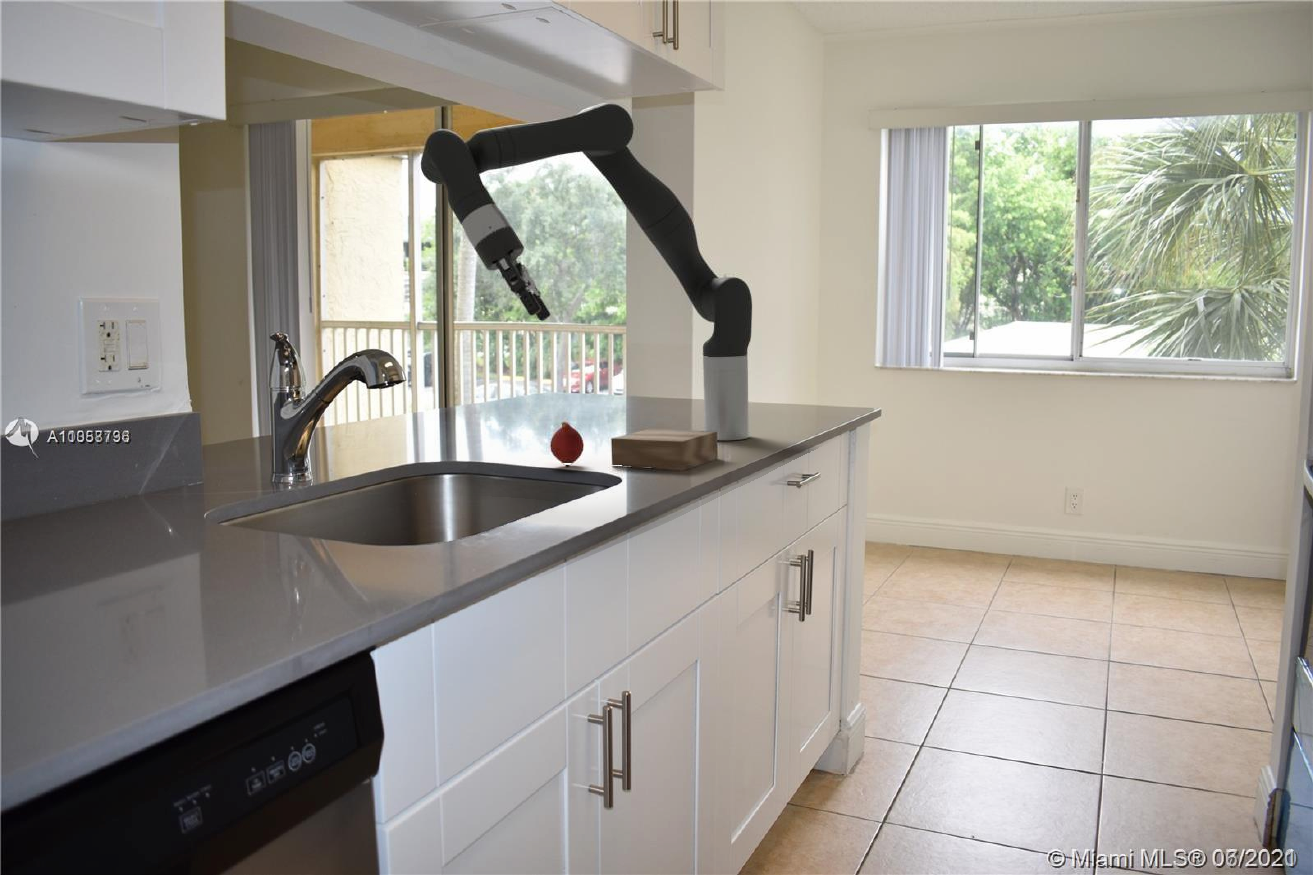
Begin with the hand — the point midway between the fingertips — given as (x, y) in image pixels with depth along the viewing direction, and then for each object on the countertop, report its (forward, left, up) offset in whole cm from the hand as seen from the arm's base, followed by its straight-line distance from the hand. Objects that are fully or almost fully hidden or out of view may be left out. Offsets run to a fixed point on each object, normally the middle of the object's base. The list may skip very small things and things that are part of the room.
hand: (541, 315), depth 173 cm
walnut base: (-12, +17, -27) cm, 34 cm away
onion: (-3, +2, -27) cm, 27 cm away
